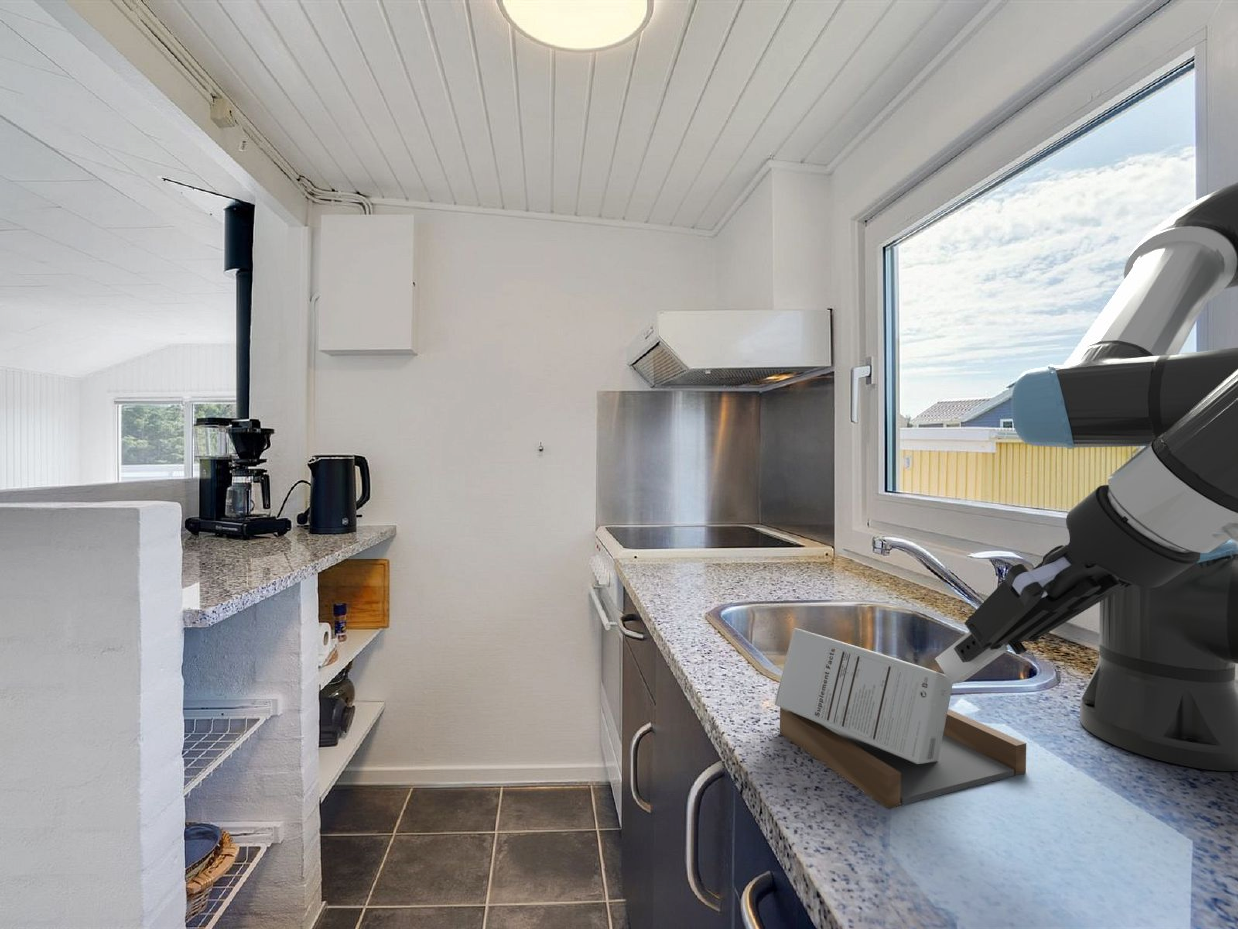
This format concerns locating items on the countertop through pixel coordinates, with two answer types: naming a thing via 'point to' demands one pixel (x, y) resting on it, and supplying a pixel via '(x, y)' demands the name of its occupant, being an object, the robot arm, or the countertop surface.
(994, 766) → the mat
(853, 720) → the supplement box
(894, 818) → the countertop surface
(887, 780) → the rails
